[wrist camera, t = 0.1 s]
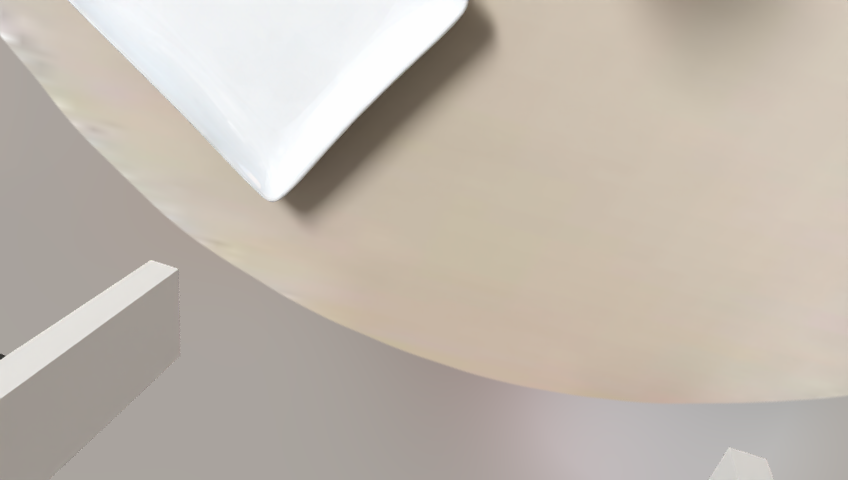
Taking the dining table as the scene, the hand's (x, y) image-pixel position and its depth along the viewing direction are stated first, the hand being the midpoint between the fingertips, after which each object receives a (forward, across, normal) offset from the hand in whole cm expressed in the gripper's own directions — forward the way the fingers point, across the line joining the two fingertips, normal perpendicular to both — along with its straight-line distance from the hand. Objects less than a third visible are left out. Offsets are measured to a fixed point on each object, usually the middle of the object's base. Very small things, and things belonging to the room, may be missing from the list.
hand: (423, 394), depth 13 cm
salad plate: (+29, -19, +4) cm, 35 cm away
